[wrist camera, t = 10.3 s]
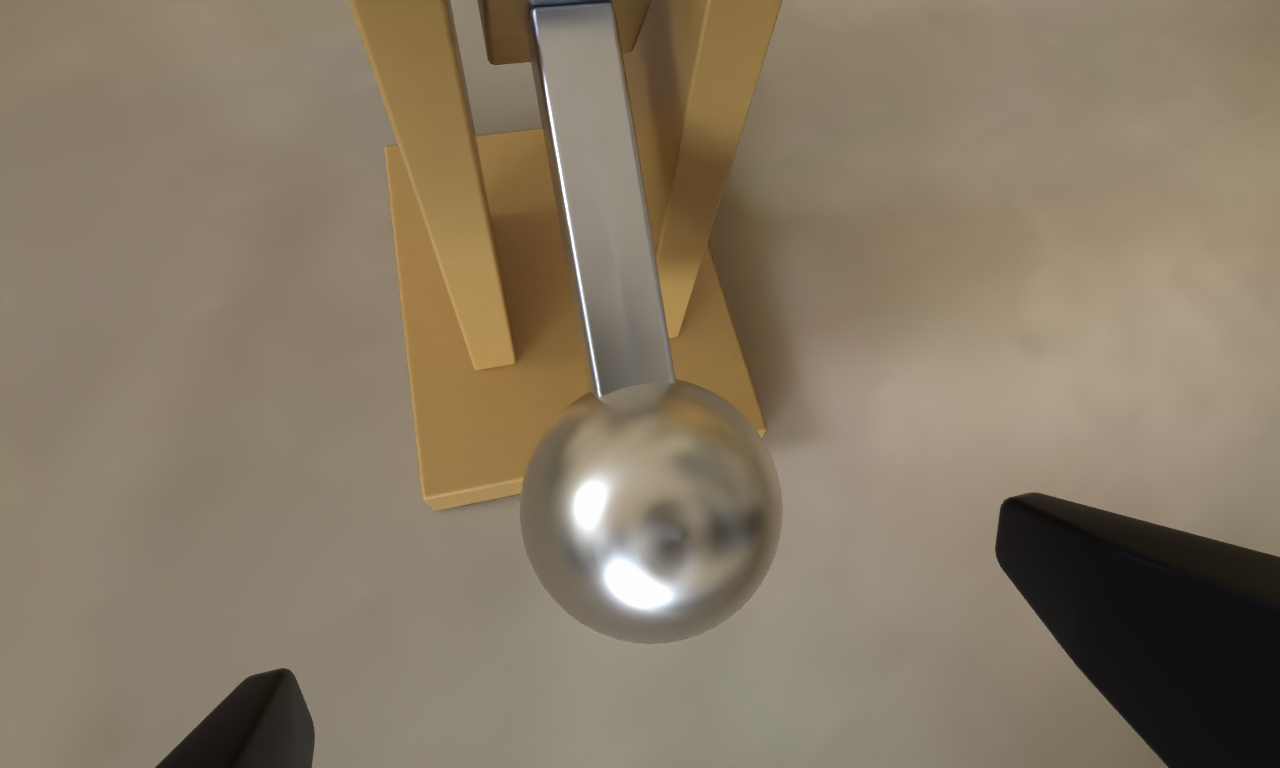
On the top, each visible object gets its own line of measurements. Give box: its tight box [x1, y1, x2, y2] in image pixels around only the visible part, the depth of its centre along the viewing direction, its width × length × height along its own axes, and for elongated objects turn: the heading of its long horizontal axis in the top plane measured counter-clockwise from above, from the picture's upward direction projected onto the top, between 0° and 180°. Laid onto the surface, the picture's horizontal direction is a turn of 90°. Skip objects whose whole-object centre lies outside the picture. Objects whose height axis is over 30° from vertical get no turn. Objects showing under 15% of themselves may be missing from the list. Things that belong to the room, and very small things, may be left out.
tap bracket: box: [349, 0, 782, 511], centre depth 12 cm, size 10×8×12 cm
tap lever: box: [477, 0, 783, 644], centre depth 9 cm, size 11×4×4 cm, turn 12°
